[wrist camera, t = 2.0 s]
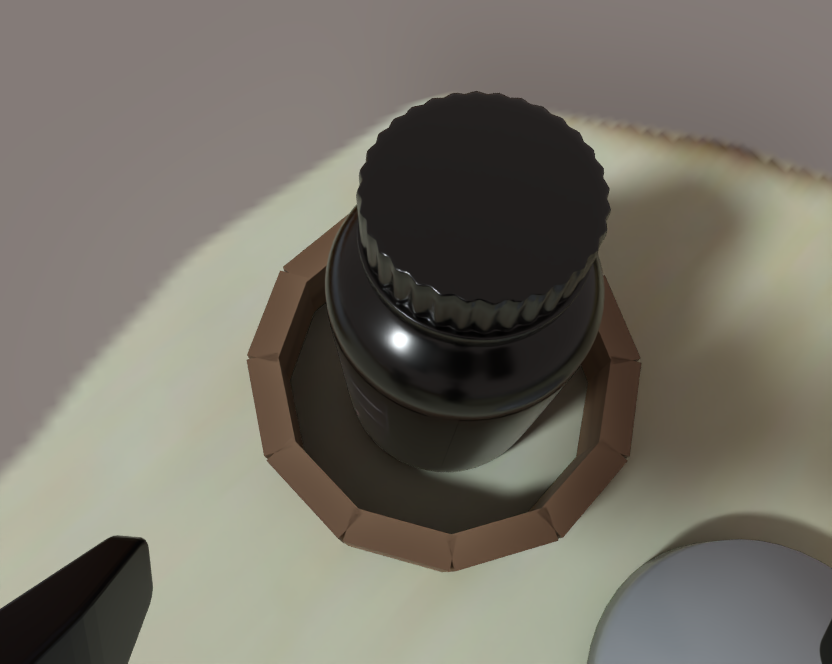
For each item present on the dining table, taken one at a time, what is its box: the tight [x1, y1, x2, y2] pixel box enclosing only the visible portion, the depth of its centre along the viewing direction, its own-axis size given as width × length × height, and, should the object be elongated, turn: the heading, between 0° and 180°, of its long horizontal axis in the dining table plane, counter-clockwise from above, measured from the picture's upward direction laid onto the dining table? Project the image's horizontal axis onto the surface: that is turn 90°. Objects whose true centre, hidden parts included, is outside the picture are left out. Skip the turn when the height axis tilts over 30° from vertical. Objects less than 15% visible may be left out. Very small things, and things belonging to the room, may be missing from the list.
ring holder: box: [247, 214, 641, 572], centre depth 21 cm, size 13×13×2 cm
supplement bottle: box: [325, 91, 611, 472], centre depth 17 cm, size 7×7×12 cm
